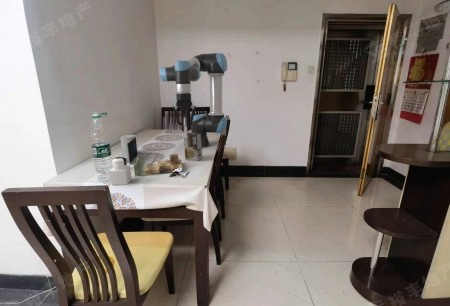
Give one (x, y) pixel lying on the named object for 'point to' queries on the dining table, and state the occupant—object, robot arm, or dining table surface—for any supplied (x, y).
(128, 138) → the grey mottled cylinder
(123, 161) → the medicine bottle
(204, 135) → the robot arm
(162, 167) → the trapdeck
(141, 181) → the dining table surface
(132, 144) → the laptop
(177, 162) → the block
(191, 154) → the coffee box
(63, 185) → the dining table surface
